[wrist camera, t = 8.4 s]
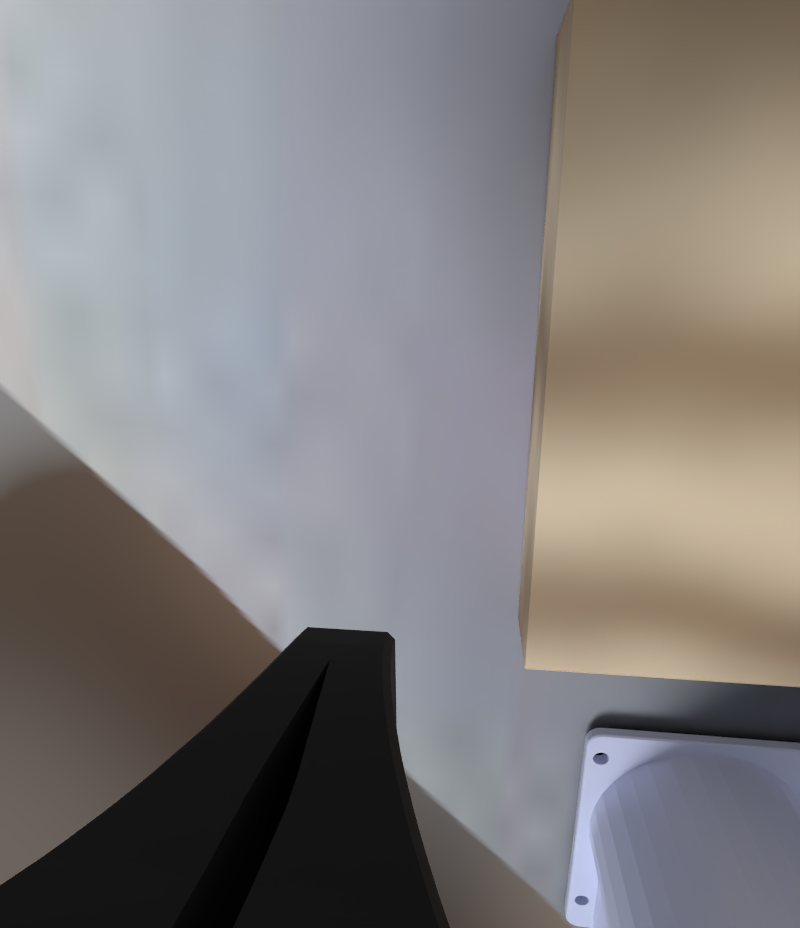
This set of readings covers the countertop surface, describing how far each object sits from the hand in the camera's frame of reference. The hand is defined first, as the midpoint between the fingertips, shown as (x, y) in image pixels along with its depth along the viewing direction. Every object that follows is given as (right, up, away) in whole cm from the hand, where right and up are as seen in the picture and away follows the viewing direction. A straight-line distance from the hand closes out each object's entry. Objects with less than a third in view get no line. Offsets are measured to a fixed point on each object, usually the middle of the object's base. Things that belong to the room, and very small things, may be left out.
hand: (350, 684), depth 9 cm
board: (+11, +6, +7) cm, 14 cm away
